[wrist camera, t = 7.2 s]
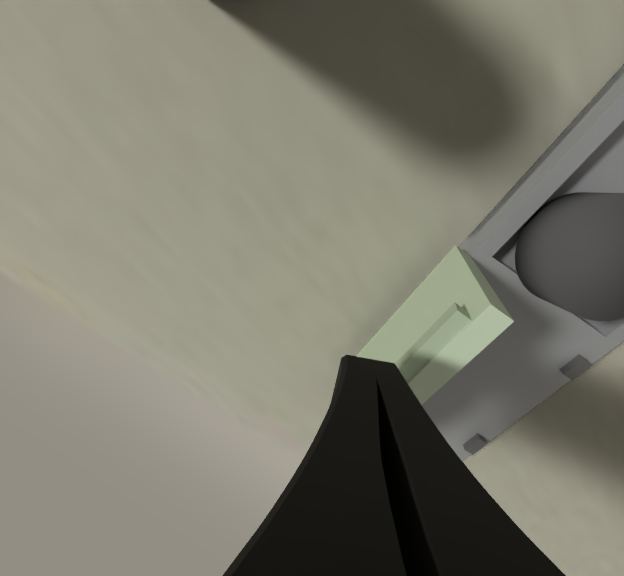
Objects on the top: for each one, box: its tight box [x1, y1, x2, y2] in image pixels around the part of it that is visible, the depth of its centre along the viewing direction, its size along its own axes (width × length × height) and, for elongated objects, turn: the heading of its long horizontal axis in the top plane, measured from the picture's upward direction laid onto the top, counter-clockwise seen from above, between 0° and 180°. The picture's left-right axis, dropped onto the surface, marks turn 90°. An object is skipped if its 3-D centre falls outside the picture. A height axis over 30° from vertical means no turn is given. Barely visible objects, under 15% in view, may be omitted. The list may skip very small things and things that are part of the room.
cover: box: [356, 245, 514, 405], centre depth 15 cm, size 7×9×1 cm
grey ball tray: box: [422, 65, 624, 462], centre depth 18 cm, size 9×20×2 cm, turn 147°
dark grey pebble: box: [515, 192, 624, 321], centre depth 15 cm, size 5×5×2 cm
